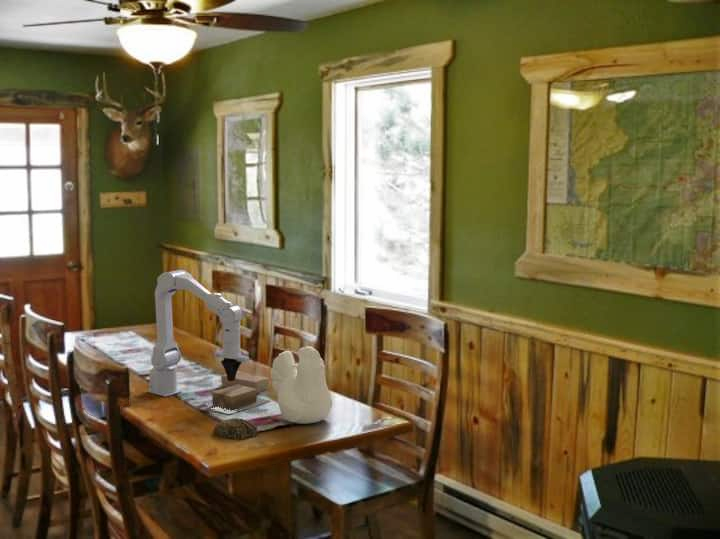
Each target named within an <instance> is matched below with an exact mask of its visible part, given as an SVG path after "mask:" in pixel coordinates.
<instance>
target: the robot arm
mask: <svg viewBox="0 0 720 539" xmlns="http://www.w3.org/2000/svg"><path fill="white" fill-rule="evenodd" d="M179 290H187V291H188V292H190V293H192V295H195V296H196V297H198V298H199V299H201V300H202V301H203V302H204V304H205V307H206V308H207V309H208V310H210V311H211V312H213V313H214V314H216V315H217V316H218V317H219V320H220V322H221V323H222V350H215V351H214V352H213V356H214V358H221V359H222V358H223V359H222V360H221V361H220V363H221V365H222V367H223V369H224V371H225V374H226V375H227V379H228V381H234V380H235V377H236V373H237V371H239V367H241V364H248V363H249V362H250V357H249V356H247V355H244V354H242V351H241V321H242V319H244V310H243V308H242V307H241V306H240V305H239V304H232V303H233V302H231V301H228V300H227V299H225V298H224V297H222V294H221V293H220V292H218V293H217V292H212V293H211V291H209V290H207V288H206V287H204V286H203V285H202V284H201V283H200V282H198V281H197V280H196V279H195V278H193V275H192V274H191V273H189V272H187V271H186V270H185V269H177V270H172V271H165V272H163V273H161V274H160V275H159V276H158V277H157V285H156V287H155V290H154V299H155V300H154V301H155V304H154V305H155V317H156V318H155V319H156V337H157V342H156V343H155V345H154V347H153V348H152V355H151V357H150V360H151V361H150V362H151V365H152V366H153V367H152V368H151V370H150V372H149V374H148V375H149V389H148V390H147V392H148V393H149V394H154V395H158V396H162V397H168V396H173V395H177V394H180V393H182V392H183V390H182V389H177V388H178V384H177V380H178V379H177V378H178V375H177V374H178V373H177V372H178V371H177V370H178V369H177V367H178V364H179V363H180V361H181V360H182V354H181V352H180V350H179V344H178V343H177V342H176V341H175V340H174V326H173V324H174V323H173V322H174V321H173V305H172V297H173V296H174V295H175V293H176V292H178V291H179Z"/></svg>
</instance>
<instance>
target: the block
mask: <svg viewBox="0 0 720 539" xmlns="http://www.w3.org/2000/svg"><path fill="white" fill-rule="evenodd" d="M257 393H258V392H257V389H254V388H250V387H246V386H242V385H238V384H237V385H234V386H231V387H224V388H220V389H217V390H214V391H212V400H211V401H212V405H211V406H214V405H215V406H219V407H222V408H226V409H230V410H233V409H236V408H239V407H242V406H246V405H249V404H252V403H255V402H257V396H258V395H257Z"/></svg>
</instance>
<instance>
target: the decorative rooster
mask: <svg viewBox="0 0 720 539" xmlns="http://www.w3.org/2000/svg"><path fill="white" fill-rule="evenodd" d="M277 355H278V356H277V357H275V358H274V360H273V363H272V365H271V366H272V368H271V370H270V378H271V380H272V382H271V383H272V389H273V391H274V392H275V393H276V395H277V403H278V406H279V411H280V414H281V415H282V417H283V418H284V420H286V421H287V422H290V423H295V424H313V423H319V422H320V421H322V420H324V419H326V418H327V417H328V415H329V414H330V412H331V409H332V407H333V401H332V400H333V399H332V397H331V393H330V391H329V387H328V384H327V379H326V366H325V362H324V359H322V357H321V354H320V353H319V351H318V350H317V349H316V348H314V347H312V346H309V345H308V346H304V347H301V348H299V349H298V351H297V357H298V362H297V363H296V361H295V357H294V355H293V353H292V351H290V350H285V351H283V352H281V353H278V354H277Z"/></svg>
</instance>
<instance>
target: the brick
mask: <svg viewBox="0 0 720 539" xmlns="http://www.w3.org/2000/svg"><path fill="white" fill-rule="evenodd" d="M220 380H221V386H223V387H224V388H227V387H231V386H234V385H237V384H238V385H242V386H246V387H250V388H254V389H257V393H260V392H262V391H266V390H268V389H270V382H269V381H270V379H269V377H268V376H266V377H265V376H263V375H262V376H261V375H255V374H254V375H253V374H251V373H246V372H243V371H240V370H237V373H236V377H235V380H234V381H228V379H227V375H226V373H224V374H221V379H220Z"/></svg>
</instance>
